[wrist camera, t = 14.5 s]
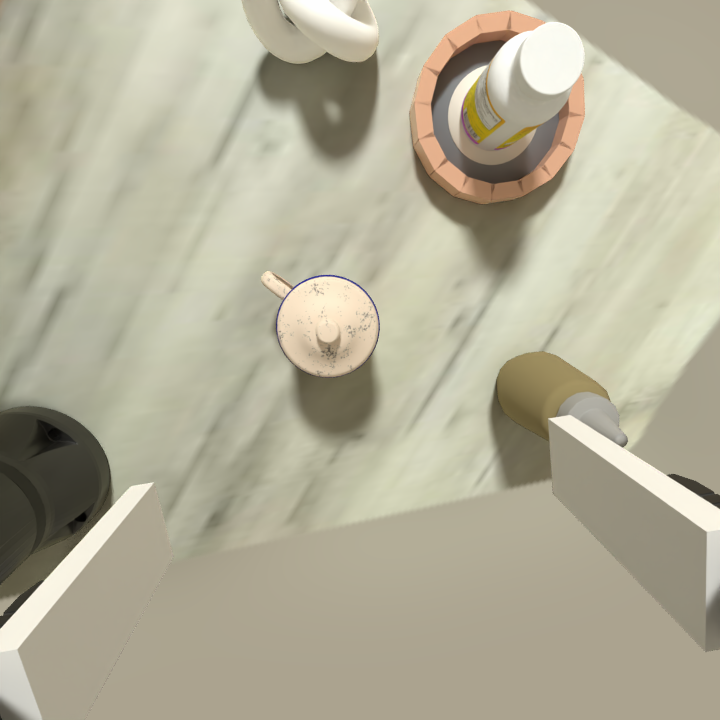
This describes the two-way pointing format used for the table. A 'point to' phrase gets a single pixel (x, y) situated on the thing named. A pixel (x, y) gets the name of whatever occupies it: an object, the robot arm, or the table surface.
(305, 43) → the white decorative knot
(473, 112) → the supplement bottle
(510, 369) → the squeeze bottle
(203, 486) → the table surface
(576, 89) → the saucer tray
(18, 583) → the table surface
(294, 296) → the teacup with lid
